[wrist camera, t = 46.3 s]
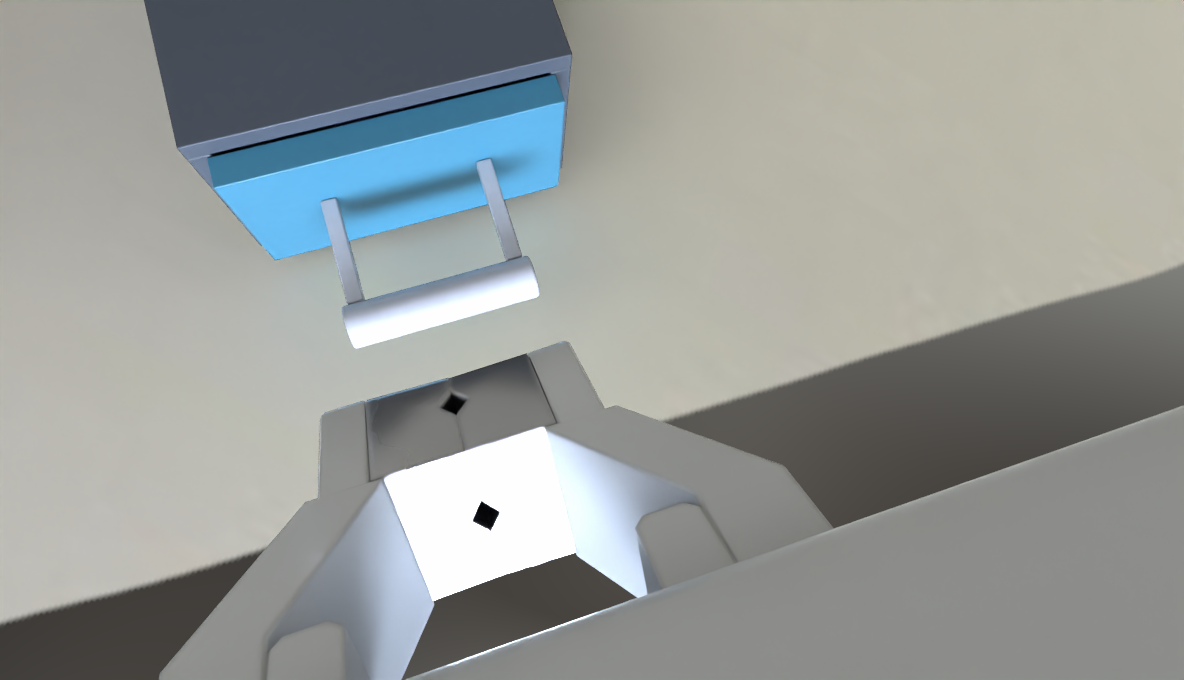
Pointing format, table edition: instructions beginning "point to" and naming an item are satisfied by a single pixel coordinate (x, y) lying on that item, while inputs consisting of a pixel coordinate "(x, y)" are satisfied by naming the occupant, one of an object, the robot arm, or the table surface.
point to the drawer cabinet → (336, 62)
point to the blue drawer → (404, 194)
